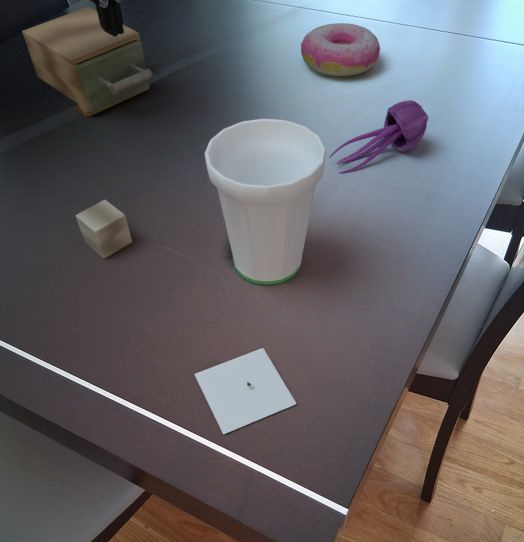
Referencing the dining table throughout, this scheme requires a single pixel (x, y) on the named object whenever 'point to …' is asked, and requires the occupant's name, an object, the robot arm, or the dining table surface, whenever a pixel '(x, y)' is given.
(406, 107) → the jellyfish
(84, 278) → the dining table surface
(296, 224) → the cup
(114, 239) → the block
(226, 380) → the coaster
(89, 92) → the drawer
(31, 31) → the cabinet
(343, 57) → the donut
